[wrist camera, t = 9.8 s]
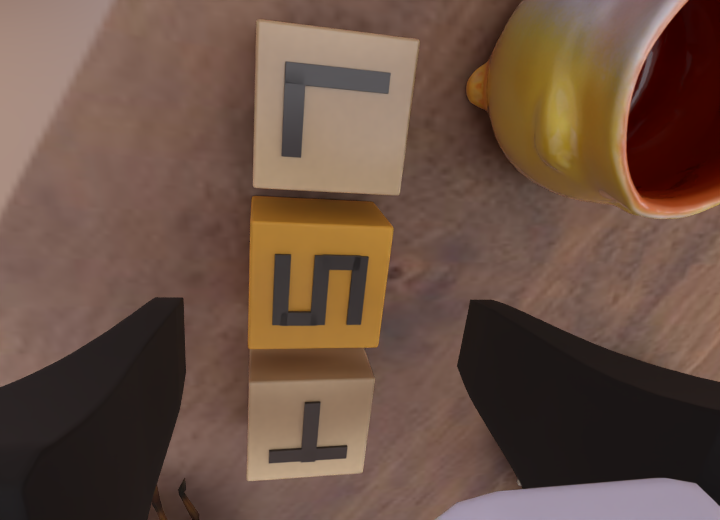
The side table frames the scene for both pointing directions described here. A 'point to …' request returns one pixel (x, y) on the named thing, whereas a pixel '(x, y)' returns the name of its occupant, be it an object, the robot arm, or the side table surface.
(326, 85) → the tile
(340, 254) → the yellow number block
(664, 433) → the robot arm
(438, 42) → the side table surface
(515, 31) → the mug
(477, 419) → the side table surface
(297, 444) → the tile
